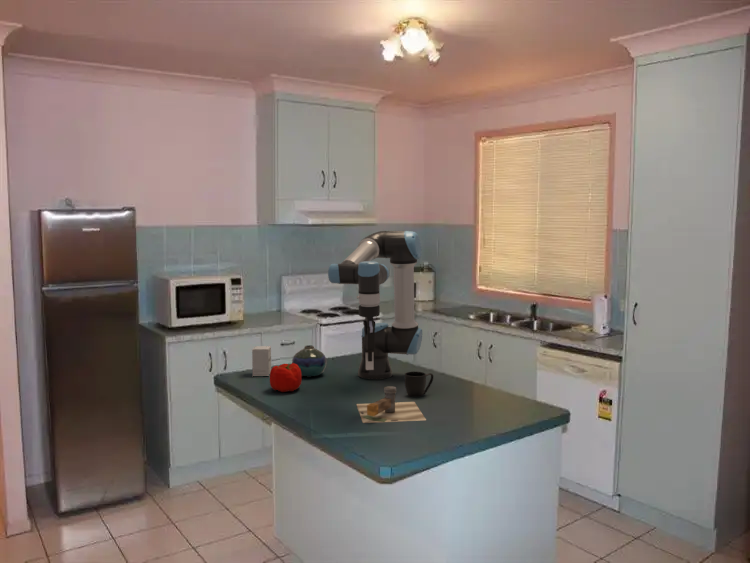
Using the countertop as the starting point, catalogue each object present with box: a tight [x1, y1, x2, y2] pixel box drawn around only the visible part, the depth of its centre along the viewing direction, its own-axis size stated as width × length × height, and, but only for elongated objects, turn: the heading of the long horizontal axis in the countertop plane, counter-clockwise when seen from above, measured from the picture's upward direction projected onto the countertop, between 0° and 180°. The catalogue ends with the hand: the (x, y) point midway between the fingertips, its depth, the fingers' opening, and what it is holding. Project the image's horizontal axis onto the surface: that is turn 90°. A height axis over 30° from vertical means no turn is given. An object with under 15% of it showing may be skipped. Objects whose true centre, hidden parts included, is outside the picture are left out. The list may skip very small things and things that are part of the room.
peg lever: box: [367, 385, 397, 416], centre depth 224 cm, size 15×4×8 cm, turn 148°
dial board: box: [356, 401, 427, 424], centre depth 230 cm, size 22×22×1 cm
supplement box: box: [251, 345, 272, 377], centre depth 286 cm, size 7×7×13 cm
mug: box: [404, 371, 434, 398], centre depth 252 cm, size 8×12×10 cm
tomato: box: [269, 362, 302, 393], centre depth 262 cm, size 14×13×10 cm
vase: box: [291, 344, 328, 378], centre depth 286 cm, size 15×15×13 cm
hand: (369, 369), depth 231 cm, fingers closed
